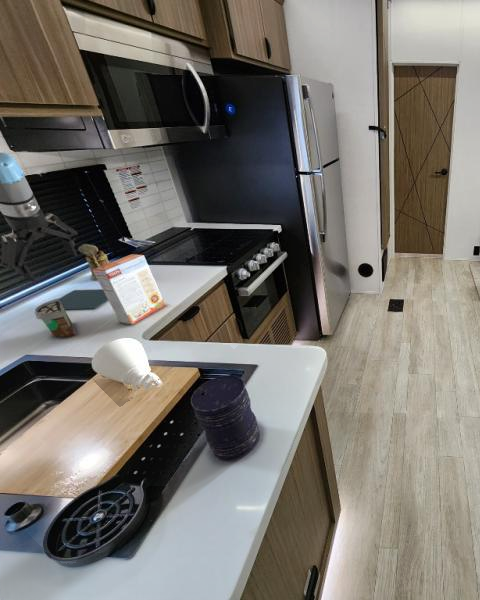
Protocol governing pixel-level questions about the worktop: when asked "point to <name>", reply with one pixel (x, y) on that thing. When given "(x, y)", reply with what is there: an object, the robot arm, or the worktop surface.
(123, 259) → the cracker box
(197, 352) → the worktop surface
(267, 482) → the worktop surface
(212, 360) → the worktop surface
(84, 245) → the tan yellow lumpy piece
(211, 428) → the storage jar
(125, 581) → the worktop surface
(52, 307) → the food container
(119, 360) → the rocket engine
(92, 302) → the side mat
